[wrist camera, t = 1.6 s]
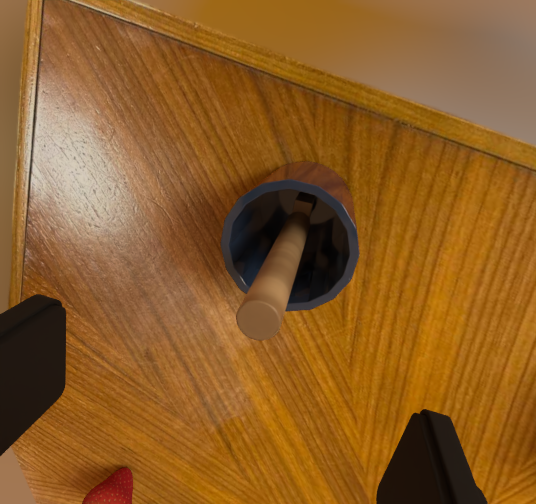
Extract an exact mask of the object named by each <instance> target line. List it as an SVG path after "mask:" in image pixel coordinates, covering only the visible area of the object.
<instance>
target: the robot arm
mask: <svg viewBox="0 0 536 504" xmlns="http://www.w3.org/2000/svg"><path fill="white" fill-rule="evenodd" d="M65 374H66V310H65V308H64V307H62V303H61V302H60V301H59V300H57V299H54V298H50V297H47V296H44V295H40V294H36V295H34V296H32V297H30V298H28V299H26V300H25V301H23V302H21V303H19V304H18V305H16V306H14V307H12V308H11V309H9V310H7V311H5V312H4V313H2V314H0V456H1V455H2V454H3V453H4V452H5V451H6V450H7V449H8V448H9V447H10V446H11V445H12V444H13V443H14V442H15V441H16V440H17V439H18V438H19V437H20V436H21V435H22V434H23V433H24V432H25V431H26V430H27V429H28V428H29V427H30V426H31V425H32V424H33V423H34V422H35V421H36V420H38V419H39V418H40V417H41V416H42V415H43V414H44V413H45V412H46V411H47V410H48V409H49V408H50V407H51V406H52V405H53V404H54V403H55V402H56V401H57V400H58V399H59V397H60V396H61V395H62V393H63V391H64V388H65ZM376 501H377V504H488V503H487V501H486V498H485V497H484V495H483V493H482V491H481V490H480V489H479V488H478V487H477V486H476V483H475V481H474V478H473V476H472V473H471V470H470V468H469V465H468V462H467V460H466V457H465V455H464V452H463V449H462V447H461V444H460V441H459V439H458V436H457V433H456V431H455V428H454V426H453V423H452V421H451V419H450V417H448V416H446V415H443V414H440V413H436V412H433V411H429V410H426V409H423V410H422V411H421V412H420V414H418V413H414V414H413V415H412V416H411V418H410V420H409V422H408V425H407V427H406V429H405V431H404V433H403V435H402V437H401V439H400V441H399V444H398V446H397V448H396V450H395V452H394V454H393V456H392V458H391V461H390V463H389V465H388V467H387V469H386V471H385V473H384V475H383V477H382V480H381V482H380V484H379V486H378V490H377V498H376Z"/></svg>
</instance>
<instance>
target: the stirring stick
mask: <svg viewBox="0 0 536 504" xmlns="http://www.w3.org/2000/svg"><path fill="white" fill-rule="evenodd" d="M314 200H315V195H312V194H308V193H304V192H299V194H298V196H297V198H296V199H295V203H294V207H293V211H292V214H290V215H289V217H288V219H287V220H286V222H285V224H284V226H283V228H282V230H281V231H280V233H279V235H278V237H277V239H276V241H275V243H274V244H273V246H272V248H271V250H270V252H269V254H268V255H267V257H266V259H265V261H264V263H263V265H262V267H261V268H260V270H259V272H258V274H257V276H256V278H255V279H254V281H253V283H252V285H251V287H250V289H249V291H248V292H247V294H246V296H245V298H244V300H243V302H242V303H241V305H240V307H239V309H238V311H237V315H236V320H237V324H238V327H239V328H240V330H241V331H242V332H243V333H244V334H245V335H246V336H248V337H249V338H251V339H254V340H267V339H270V338H272V337H274V336H275V335H276V334H277V333H278V332H279V330H280V327H281V324H282V320H283V317H284V314H285V310H286V307H287V303H288V300H289V296H290V293H291V290H292V286H293V283H294V279H295V276H296V273H297V269H298V266H299V262H300V259H301V255H302V252H303V249H304V245H305V242H306V238H307V235H308V231H309V228H310V215H311V211H312V208H313V204H314Z"/></svg>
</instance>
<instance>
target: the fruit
mask: <svg viewBox="0 0 536 504" xmlns="http://www.w3.org/2000/svg"><path fill="white" fill-rule="evenodd" d="M132 492H133V476H132V473H131V470H130V469H128V468H121V469H119V470H117V471H116V472H114V473H113V474H112V475H110V476H109V477H108V478H107V479H106V480H104V481H103V482H102V483H100V484H99V485H97V486H96V487H94V488H93V489H92V490H91V491H90V492H89V493H88V494H87V495H86V497H85V498H84V500H83V502H82V504H132Z"/></svg>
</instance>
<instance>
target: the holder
mask: <svg viewBox="0 0 536 504" xmlns="http://www.w3.org/2000/svg"><path fill="white" fill-rule="evenodd" d="M299 192H304V193H308V194H312V195H315V200H314V204H313V208H312V211H311V215H310V228H309V231H308V235H307V238H306V242H305V245H304V249H303V252H302V255H301V259H300V262H299V266H298V269H297V273H296V276H295V279H294V283H293V286H292V290H291V293H290V296H289V300H288V303H287V307H286V310H285V311H298V310H310V309H313V308H315V307H317V306H320V305H322V304H324V303H326V302H328V301H330V300H332V299H334V298H335V297H336V296H337V295H338V294H339V293H340V292H341V291H342V289H343V288H344V287H345V286H346V285H347V284H348V283H349V282H350V281H351V279H352V276H353V273H354V270H355V267H356V264H357V261H358V258H359V245H358V235H357V227H356V220H355V213H354V206H353V199H352V195H351V193H350V191H349V189H348V187H347V185H346V184H345V182H344V181H343V179H342V178H341V177H340V176H339V175H338V174H337V173H335V172H334V171H333V170H331V169H330V168H328V167H326V166H324V165H322V164H318V163H315V162H308V161H301V162H294V163H290V164H286V165H284V166H282V167H280V168H279V169H277V170H276V171H274V172H273V173H271V174H269V175H268V176H267V177H265V178H264V179H263V180H262V181H260V182H259V183H258V184H256V185H255V186H254V187H252V188H251V189H250V190H249V191H247V192H246V193H245V194H243V195H242V196H241V197H240V198H239V199H238V200H237V202H236V203H235V205H234V206H233V208H232V209H231V211H230V212H229V214H228V215H227V217H226V218H225V220H224V226H223V232H222V238H221V249H222V253H223V258H224V262H225V267H226V268H227V271H228V272H229V274H230V275H231V277H232V278H233V280H234V281H235V283H236V284H237V286H238V287H239V289H241V290H242V291H243V292H244V293H246V294H247V292H248V291H249V289H250V287H251V285H252V283H253V281H254V279H255V278H256V276H257V274H258V272H259V270H260V268H261V267H262V265H263V263H264V261H265V259H266V257H267V255H268V254H269V252H270V250H271V248H272V246H273V244H274V243H275V241H276V239H277V237H278V235H279V233H280V231H281V230H282V228H283V226H284V224H285V222H286V220H287V219H288V217H289V215H290V214H292V211H293V207H294V203H295V199H296V198H297V196H298V194H299Z"/></svg>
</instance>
